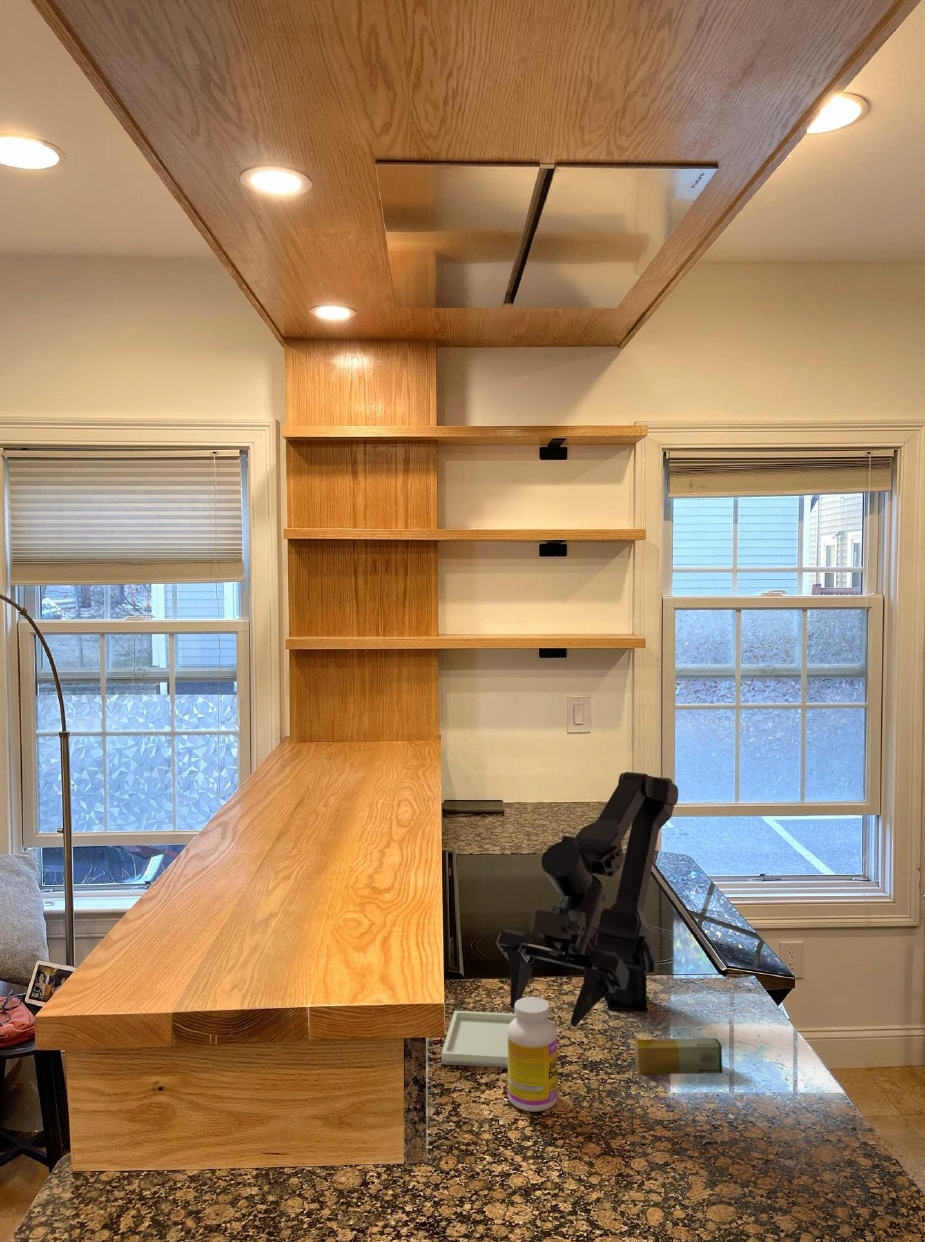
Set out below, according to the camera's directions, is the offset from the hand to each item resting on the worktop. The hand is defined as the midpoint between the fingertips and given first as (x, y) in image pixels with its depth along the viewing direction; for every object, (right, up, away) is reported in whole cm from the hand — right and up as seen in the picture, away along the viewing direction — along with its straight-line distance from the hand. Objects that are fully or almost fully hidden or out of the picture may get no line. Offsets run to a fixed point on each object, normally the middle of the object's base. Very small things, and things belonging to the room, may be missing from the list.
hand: (542, 1016), depth 118 cm
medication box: (+20, -10, +5) cm, 23 cm away
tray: (-7, -10, +13) cm, 17 cm away
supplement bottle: (-1, -10, -2) cm, 11 cm away
